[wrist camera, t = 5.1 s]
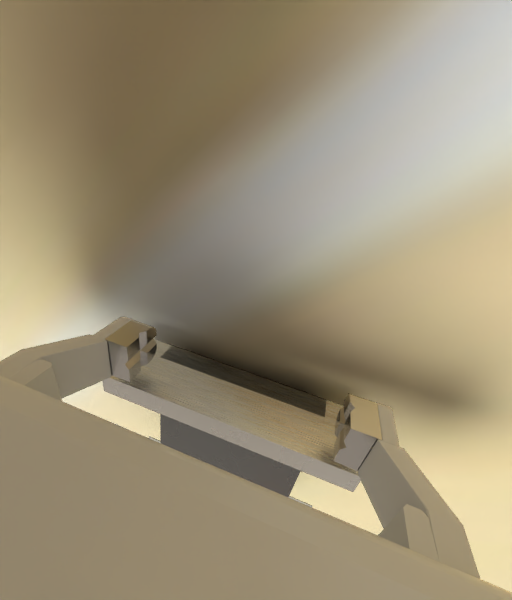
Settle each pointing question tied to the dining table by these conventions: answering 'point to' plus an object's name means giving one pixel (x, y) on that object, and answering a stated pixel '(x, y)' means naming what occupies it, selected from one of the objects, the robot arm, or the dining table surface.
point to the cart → (238, 419)
